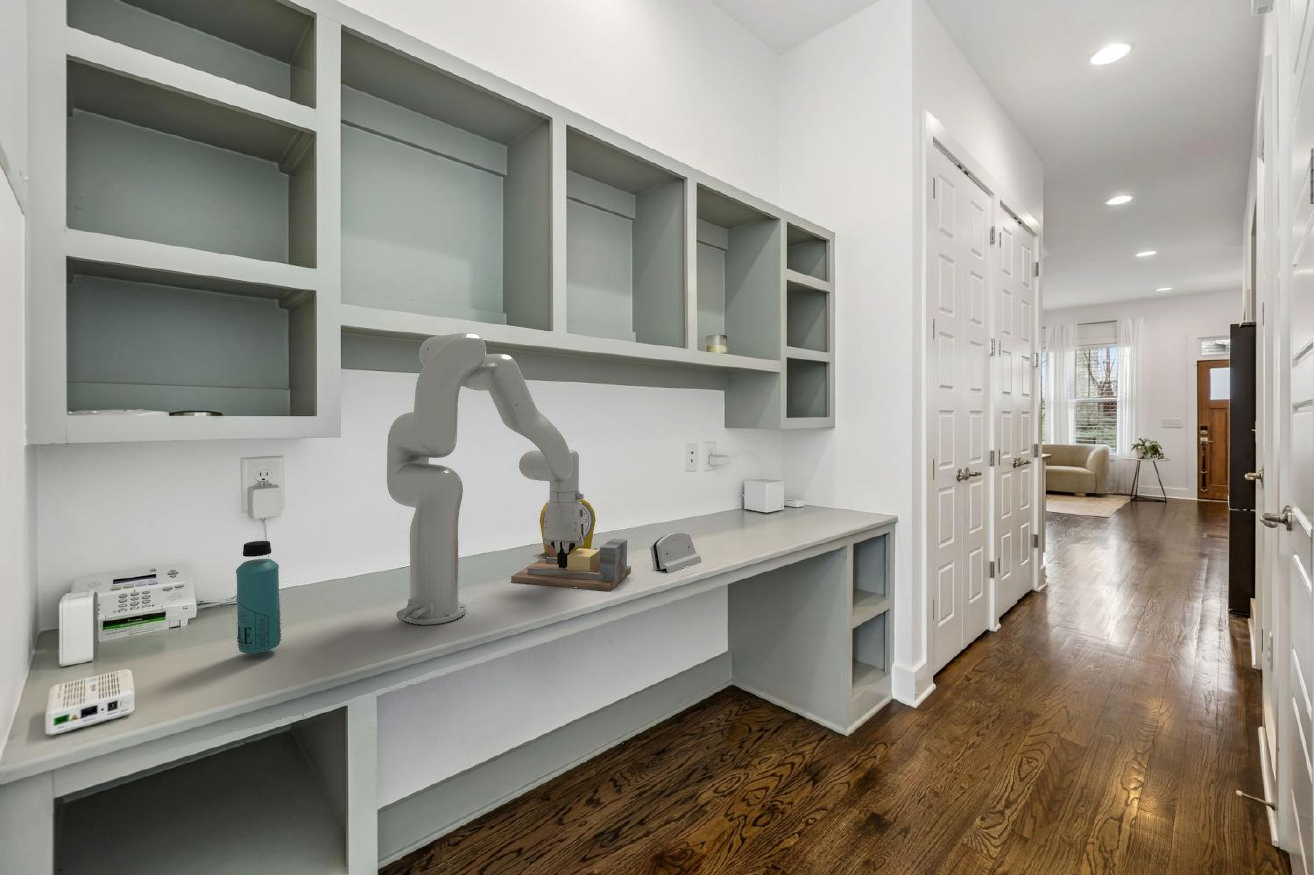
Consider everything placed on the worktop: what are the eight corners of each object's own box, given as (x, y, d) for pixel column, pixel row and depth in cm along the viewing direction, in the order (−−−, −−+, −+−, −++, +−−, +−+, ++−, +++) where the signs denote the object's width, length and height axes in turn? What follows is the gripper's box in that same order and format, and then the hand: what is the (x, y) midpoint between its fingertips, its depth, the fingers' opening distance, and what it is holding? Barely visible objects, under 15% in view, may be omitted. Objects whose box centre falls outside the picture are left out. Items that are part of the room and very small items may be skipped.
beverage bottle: (289, 647, 108) (287, 537, 107) (266, 662, 101) (264, 546, 100) (252, 647, 108) (250, 537, 107) (227, 662, 101) (224, 545, 100)
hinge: (668, 573, 159) (658, 537, 161) (654, 576, 162) (645, 540, 164) (702, 561, 173) (693, 527, 174) (689, 564, 175) (680, 531, 177)
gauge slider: (589, 576, 150) (589, 557, 150) (567, 574, 151) (567, 555, 151) (605, 564, 162) (606, 546, 162) (585, 562, 164) (585, 544, 163)
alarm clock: (550, 559, 173) (550, 496, 172) (539, 553, 180) (539, 492, 179) (596, 553, 181) (596, 492, 180) (584, 547, 188) (584, 489, 187)
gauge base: (609, 591, 144) (610, 552, 143) (511, 582, 150) (511, 544, 149) (630, 571, 161) (631, 536, 160) (541, 564, 167) (542, 530, 167)
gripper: (596, 496, 157) (595, 565, 158) (543, 494, 160) (543, 561, 161) (586, 500, 150) (585, 573, 151) (531, 498, 153) (531, 568, 154)
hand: (563, 566), depth 156 cm, fingers closed
